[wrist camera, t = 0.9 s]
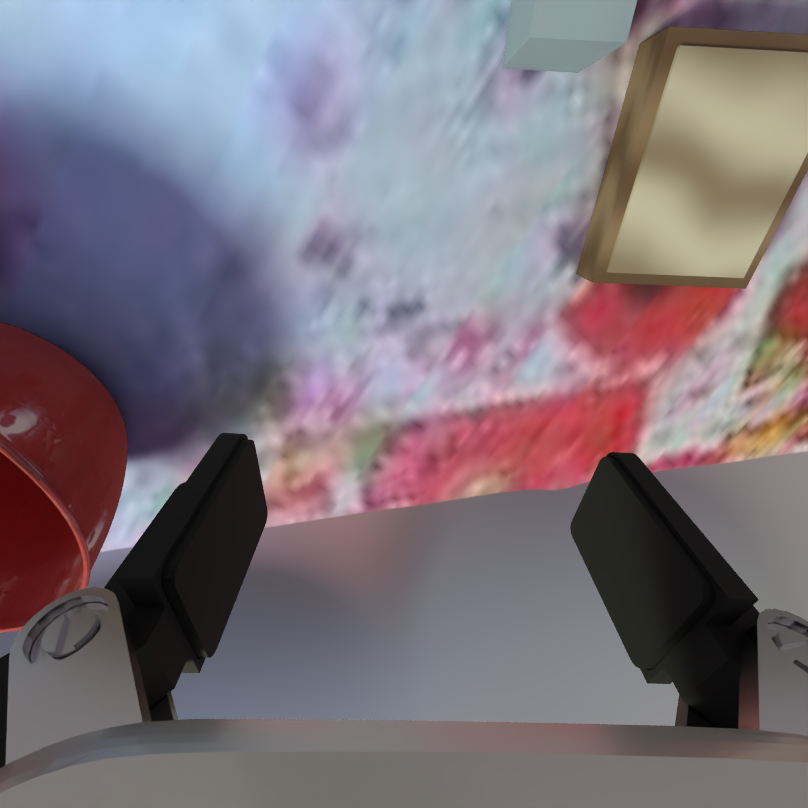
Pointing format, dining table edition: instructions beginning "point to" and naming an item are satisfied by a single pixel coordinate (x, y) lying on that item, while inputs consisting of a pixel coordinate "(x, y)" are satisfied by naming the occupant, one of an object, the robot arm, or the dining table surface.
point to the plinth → (701, 159)
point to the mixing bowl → (52, 473)
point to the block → (565, 33)
